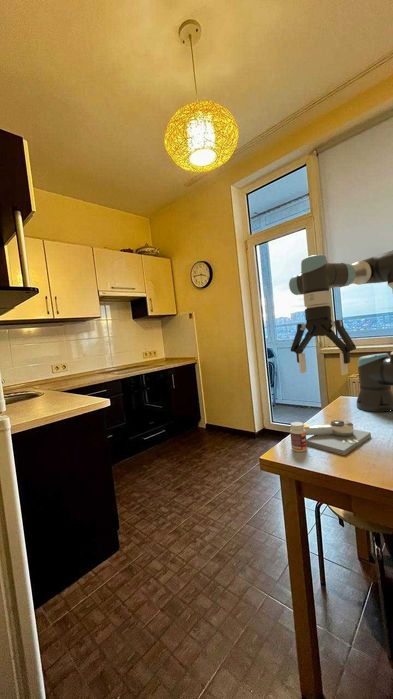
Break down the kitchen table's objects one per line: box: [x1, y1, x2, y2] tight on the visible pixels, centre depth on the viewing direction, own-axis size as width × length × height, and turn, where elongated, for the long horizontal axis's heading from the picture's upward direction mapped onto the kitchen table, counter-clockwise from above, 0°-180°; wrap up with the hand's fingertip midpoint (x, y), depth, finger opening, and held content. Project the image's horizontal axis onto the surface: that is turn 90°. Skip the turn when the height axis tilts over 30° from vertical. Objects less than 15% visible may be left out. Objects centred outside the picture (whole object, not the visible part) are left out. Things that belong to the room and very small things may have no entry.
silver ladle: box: [304, 419, 354, 437], centre depth 99 cm, size 16×7×4 cm, turn 82°
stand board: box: [306, 428, 372, 456], centre depth 96 cm, size 18×14×2 cm
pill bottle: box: [289, 421, 308, 453], centre depth 93 cm, size 5×5×8 cm
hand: (322, 373), depth 92 cm, fingers open, 13 cm apart
